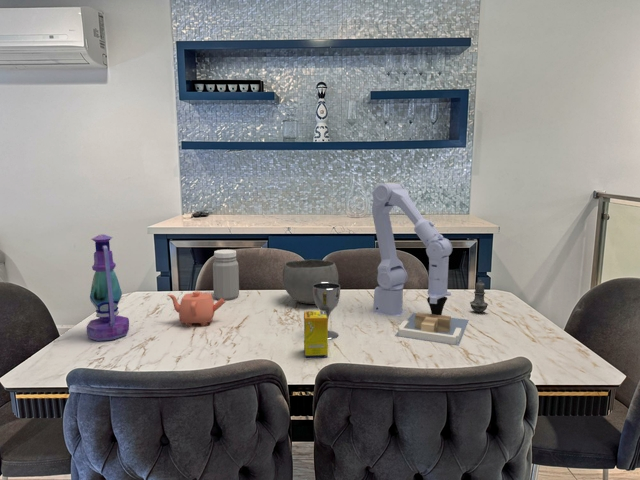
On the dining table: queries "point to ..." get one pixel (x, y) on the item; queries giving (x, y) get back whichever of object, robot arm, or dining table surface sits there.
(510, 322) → the dining table surface
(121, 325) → the lantern
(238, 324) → the dining table surface
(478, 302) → the salt shaker
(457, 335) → the dock
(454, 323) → the board
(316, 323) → the supplement box
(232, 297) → the jar
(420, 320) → the t block
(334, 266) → the bowl
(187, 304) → the teapot
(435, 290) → the robot arm
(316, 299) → the silver goblet
